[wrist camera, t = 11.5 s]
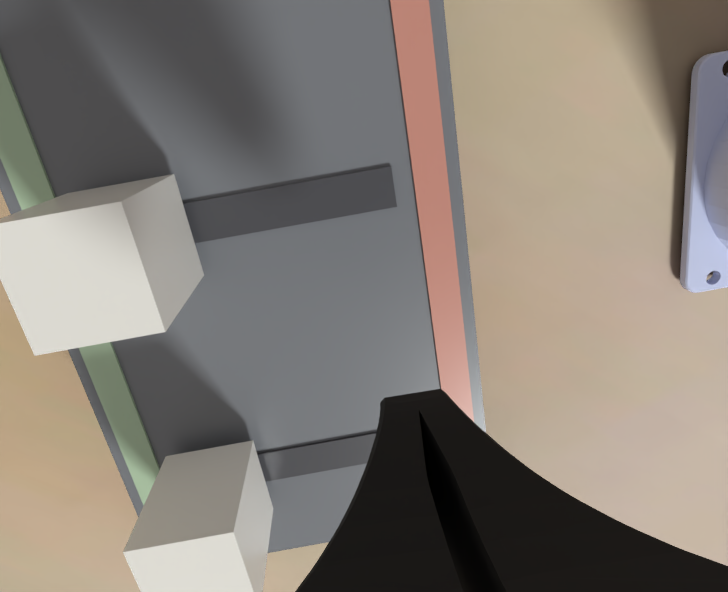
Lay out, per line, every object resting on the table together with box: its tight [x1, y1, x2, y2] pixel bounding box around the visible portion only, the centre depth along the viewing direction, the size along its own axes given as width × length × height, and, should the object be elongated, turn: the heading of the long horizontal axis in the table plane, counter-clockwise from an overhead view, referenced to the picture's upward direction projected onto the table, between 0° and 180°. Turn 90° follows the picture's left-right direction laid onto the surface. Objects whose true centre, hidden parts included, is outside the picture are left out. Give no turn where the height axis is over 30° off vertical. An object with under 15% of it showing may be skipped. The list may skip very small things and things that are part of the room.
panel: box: [0, 0, 486, 553], centre depth 16 cm, size 13×26×2 cm, turn 9°
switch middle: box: [0, 174, 204, 356], centre depth 13 cm, size 3×3×4 cm
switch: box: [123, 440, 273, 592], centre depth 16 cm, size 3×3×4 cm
